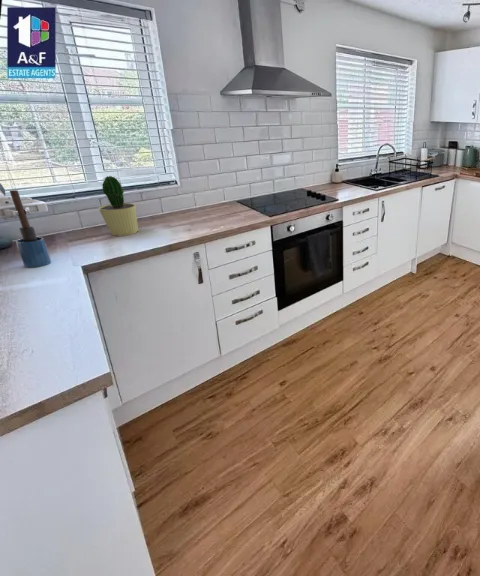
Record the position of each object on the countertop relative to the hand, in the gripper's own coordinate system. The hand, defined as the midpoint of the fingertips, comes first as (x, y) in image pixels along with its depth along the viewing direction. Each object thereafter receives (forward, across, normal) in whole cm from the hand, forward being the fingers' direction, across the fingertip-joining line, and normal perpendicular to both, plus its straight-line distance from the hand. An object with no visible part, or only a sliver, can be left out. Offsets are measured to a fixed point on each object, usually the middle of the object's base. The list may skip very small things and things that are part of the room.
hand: (22, 212), depth 138 cm
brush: (-1, 0, +12) cm, 12 cm away
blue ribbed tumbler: (-1, 0, +21) cm, 21 cm away
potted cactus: (-19, +44, +21) cm, 52 cm away
